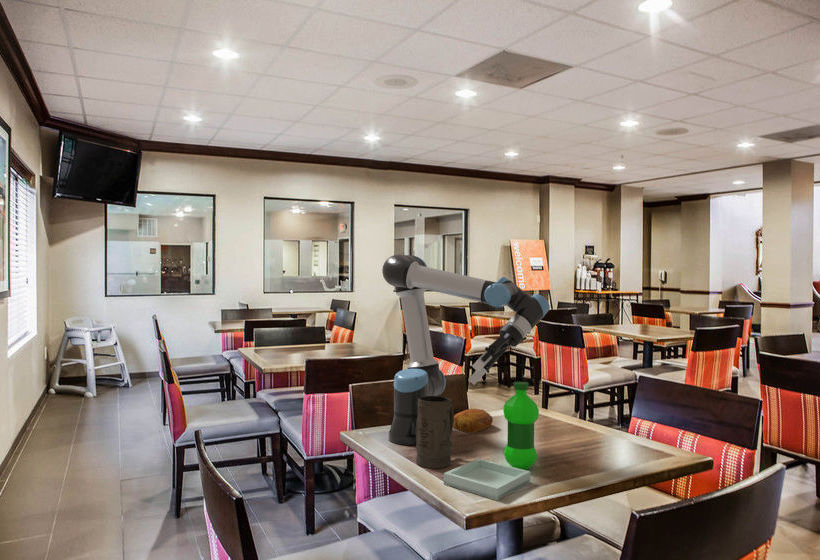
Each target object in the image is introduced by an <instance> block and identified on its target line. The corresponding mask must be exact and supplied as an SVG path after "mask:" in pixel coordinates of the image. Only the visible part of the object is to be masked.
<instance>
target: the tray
mask: <svg viewBox="0 0 820 560" xmlns="http://www.w3.org/2000/svg"><path fill="white" fill-rule="evenodd" d="M530 483H531V471H529V470H523V469H519V468H515V467H512V466H510V465H506V464H503V463H499V462H494V461H490V460H486V459H484V458H483V459H482V458H479V457H478V458H476V459H474V460H472V461H469V462H466V463H465V464H462V465H460V466H458V467H457V466H456V467H455V468H453V469H451V470H447V471H446V472H443V485H445V486H448V485H449V487H451V486H452V488H456V489H458V490H462V491H465V492H468V493H470V494H471V493H472V494H475V495H478V496H482V497H484V498H488V499H490V500H495V501H499V500H501V499H502V498H504V497H506V496H508V495H510V494H512V493H514V492H516V491H517V490H519V489H521V488H522V487H525V486H526V485H528V484H530Z"/></svg>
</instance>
